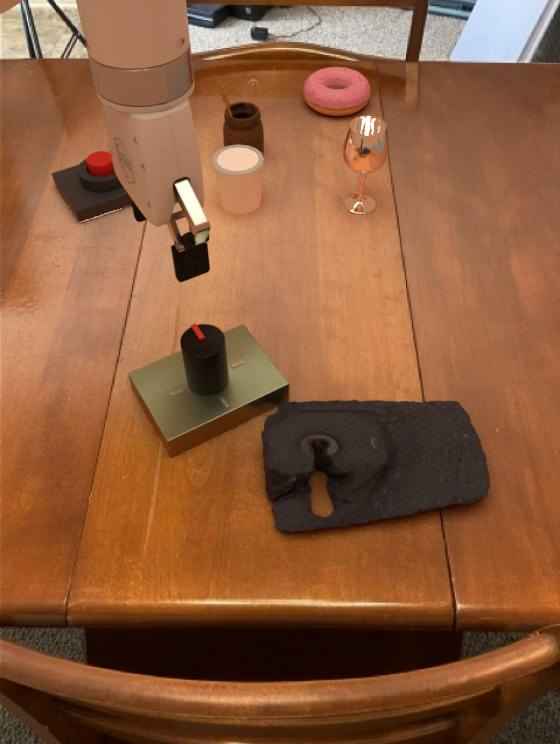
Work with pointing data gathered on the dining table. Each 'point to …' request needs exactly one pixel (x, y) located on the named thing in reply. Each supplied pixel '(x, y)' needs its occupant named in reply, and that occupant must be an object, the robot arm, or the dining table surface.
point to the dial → (205, 358)
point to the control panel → (212, 411)
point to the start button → (100, 163)
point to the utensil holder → (242, 122)
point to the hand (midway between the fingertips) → (171, 244)
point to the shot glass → (239, 178)
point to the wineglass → (364, 157)
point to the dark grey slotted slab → (370, 460)
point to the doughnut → (336, 91)
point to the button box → (90, 191)
